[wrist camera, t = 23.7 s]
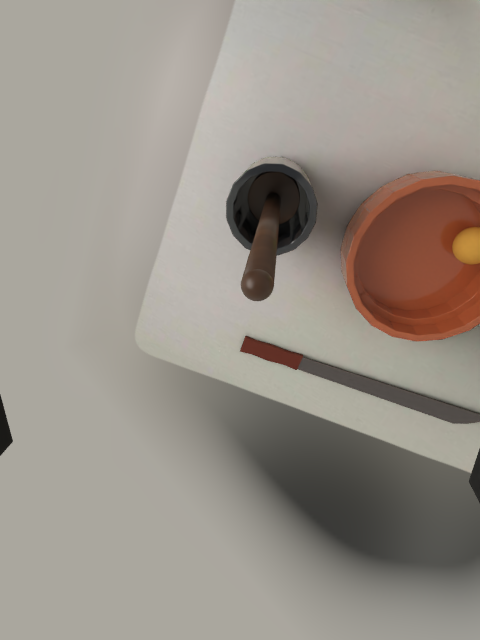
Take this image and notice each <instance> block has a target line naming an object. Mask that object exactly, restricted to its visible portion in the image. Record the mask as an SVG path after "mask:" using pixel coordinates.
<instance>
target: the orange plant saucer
mask: <svg viewBox="0 0 480 640" xmlns="http://www.w3.org/2000/svg"><path fill="white" fill-rule="evenodd" d="M470 227H480V181H479V180H476V179H472V178H468V177H465V176H461V175H456V174H451V173H446V172H441V171H428V172H420V173H413V174H408V175H405V176H403V177H401V178H399V179H396V180H394V181H392V182H390V183H388V184H385V185H383V186H382V187H380V188H379V189H378V190H377V191H376V192H375V193H373V194H372V195H371V196H370V197H369V198H368V199H366V200H365V201H364V202H363V203H362V204H361V205H360V207H359V208H358V210H357V211H356V213H355V215H354V216H353V218H352V219H351V221H350V222H349V224H348V226H347V228H346V232H345V235H344V239H343V242H342V246H341V271H342V274H343V277H344V280H345V282H346V285H347V288H348V290H349V292H350V295H351V297H352V300H353V302H354V305H355V307H356V309H357V310H358V311H359V312H360V313H361V314H362V315H363V316H364V318H365V319H366V320H367V321H368V322H369V323H370V324H371V325H372V326H374V327H376V328H377V329H379V330H381V331H383V332H385V333H387V334H388V335H390V336H393V337H397V338H402V339H407V340H412V341H429V340H442V339H445V338H448V337H451V336H454V335H457V334H460V333H463V332H466V331H469V330H471V329H472V328H474V327H475V326H477V325H478V324H480V263H478V264H465V263H462V262H461V261H459V260H458V259H457V258H456V257H455V255H454V253H453V250H452V245H453V241H454V239H455V237H456V236H457V235H458V234H459V233H460V232H461V231H463V230H464V229H467V228H470Z"/></svg>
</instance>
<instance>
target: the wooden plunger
mask: <svg viewBox="0 0 480 640" xmlns="http://www.w3.org/2000/svg"><path fill="white" fill-rule="evenodd" d="M299 203H300V193H299V188H298V185H297V183H296V181H295V179H294V178H292V177H290V176H288V175H286V174H284V173H282V172H263V173H261V174H260V175H259V176H258V177H257V178H256V179H255V180H254V181H253V183H252V185H251V187H250V189H249V192H248V205H249V208H250V211H251V213H252V214H253V215H254V217H255V218H256V219H258V220H259V224H258V227H257V230H256V234H255V237H254V240H253V244H252V247H251V251H250V254H249V257H248V261H247V264H246V267H245V271H244V274H243V277H242V281H241V289H242V292H243V293H244V295H245V296H246V297H247V298H248V299H250V300H253V301H262V300H264V299H266V298H267V297H269V296H270V295H271V293H272V291H273V287H274V277H275V265H276V253H277V242H278V230H279V224H282V223H285V222H286V221H288V220H289V219H291V218H292V217H293V215H294V214H295V213H296V211H297V209H298V207H299Z"/></svg>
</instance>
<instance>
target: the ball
mask: <svg viewBox="0 0 480 640" xmlns="http://www.w3.org/2000/svg"><path fill="white" fill-rule="evenodd" d="M452 250H453V253H454V255H455V257H456V258H457V259H458V260H459V261H461V262H462V263H465V264H478V263H480V227H470V228H467V229H464V230H463V231H461V232H460V233H459V234H458V235H457V236H456V237H455V239H454V241H453V245H452Z"/></svg>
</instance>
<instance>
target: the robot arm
mask: <svg viewBox="0 0 480 640" xmlns="http://www.w3.org/2000/svg"><path fill="white" fill-rule="evenodd" d="M12 442H13V440H12V436H11V433H10V429H9V425H8V422H7V418H6V414H5V410H4V406H3V403H2V399H1V396H0V455H1V454H2V453H3V452H4V451H5V450H6V449H7V447H8V446H9V445H10V444H11V443H12ZM469 483H470V485H471V487H472V489H473V490H474V492H475V495H476V496H477V498H478V500H479V502H480V449H479V452H478V455H477V458H476V461H475V464H474V467H473V470H472V473H471V476H470V479H469Z"/></svg>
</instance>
